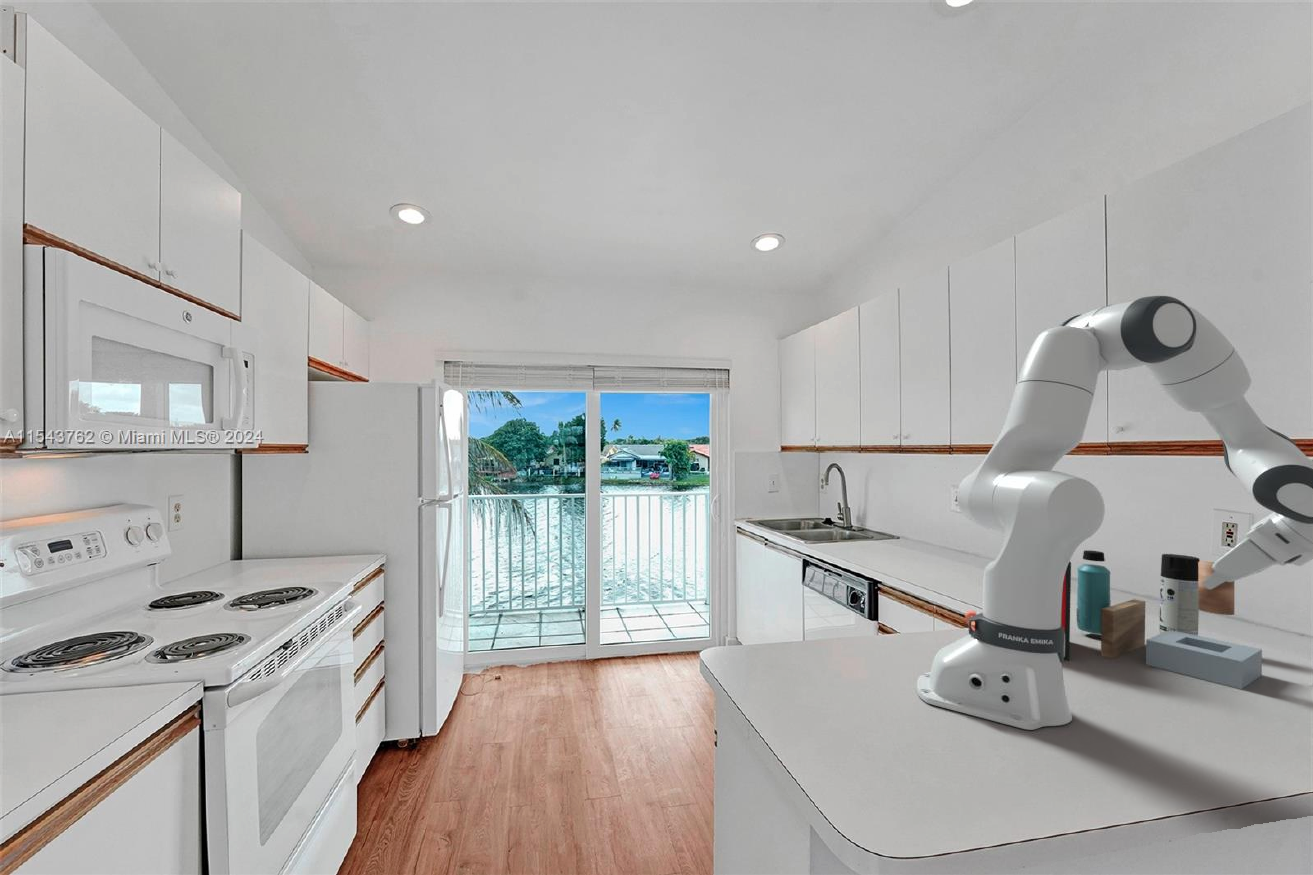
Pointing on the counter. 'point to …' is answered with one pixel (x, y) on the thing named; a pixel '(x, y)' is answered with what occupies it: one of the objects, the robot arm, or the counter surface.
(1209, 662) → the square socket block
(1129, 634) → the backstop board
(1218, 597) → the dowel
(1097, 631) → the beverage bottle
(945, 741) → the counter surface
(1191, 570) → the spray can
